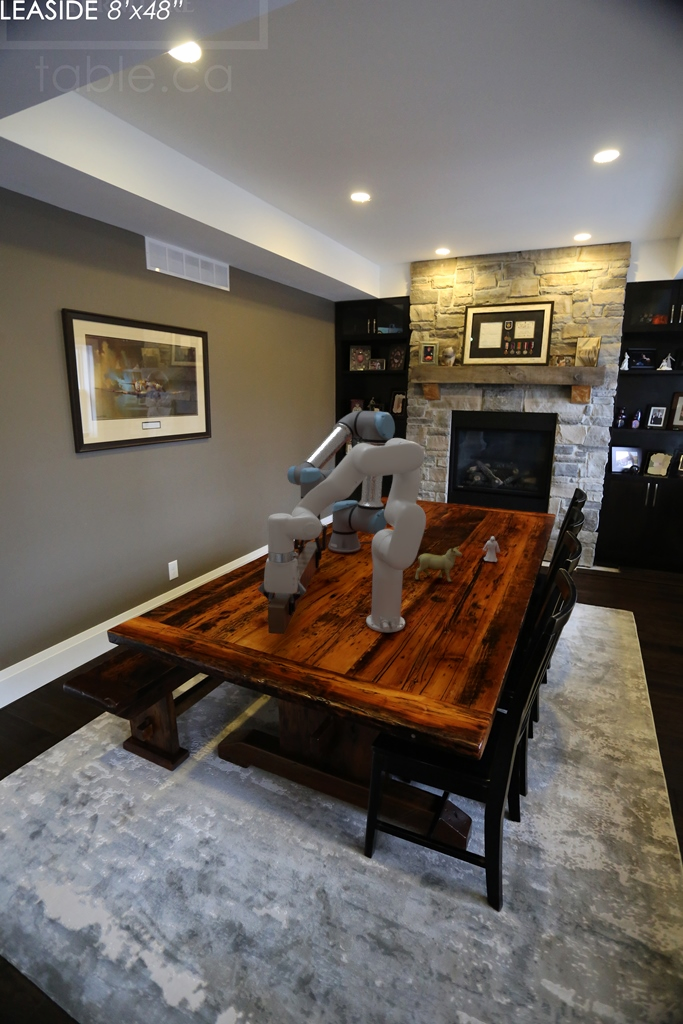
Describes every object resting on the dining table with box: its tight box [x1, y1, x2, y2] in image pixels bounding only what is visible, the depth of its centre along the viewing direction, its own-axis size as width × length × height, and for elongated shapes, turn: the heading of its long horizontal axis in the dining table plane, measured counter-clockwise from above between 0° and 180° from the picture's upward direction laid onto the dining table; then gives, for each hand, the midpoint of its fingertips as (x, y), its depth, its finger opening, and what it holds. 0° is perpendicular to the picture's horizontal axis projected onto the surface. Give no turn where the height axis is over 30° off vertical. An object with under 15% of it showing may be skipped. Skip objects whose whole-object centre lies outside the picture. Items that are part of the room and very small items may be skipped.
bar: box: [267, 541, 320, 635], centre depth 173 cm, size 61×5×8 cm, turn 173°
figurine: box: [482, 535, 501, 563], centre depth 223 cm, size 8×8×12 cm
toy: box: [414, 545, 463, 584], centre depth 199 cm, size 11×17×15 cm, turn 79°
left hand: (310, 566), depth 196 cm, fingers closed on bar, 5 cm apart
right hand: (282, 612), depth 151 cm, fingers closed on bar, 4 cm apart
